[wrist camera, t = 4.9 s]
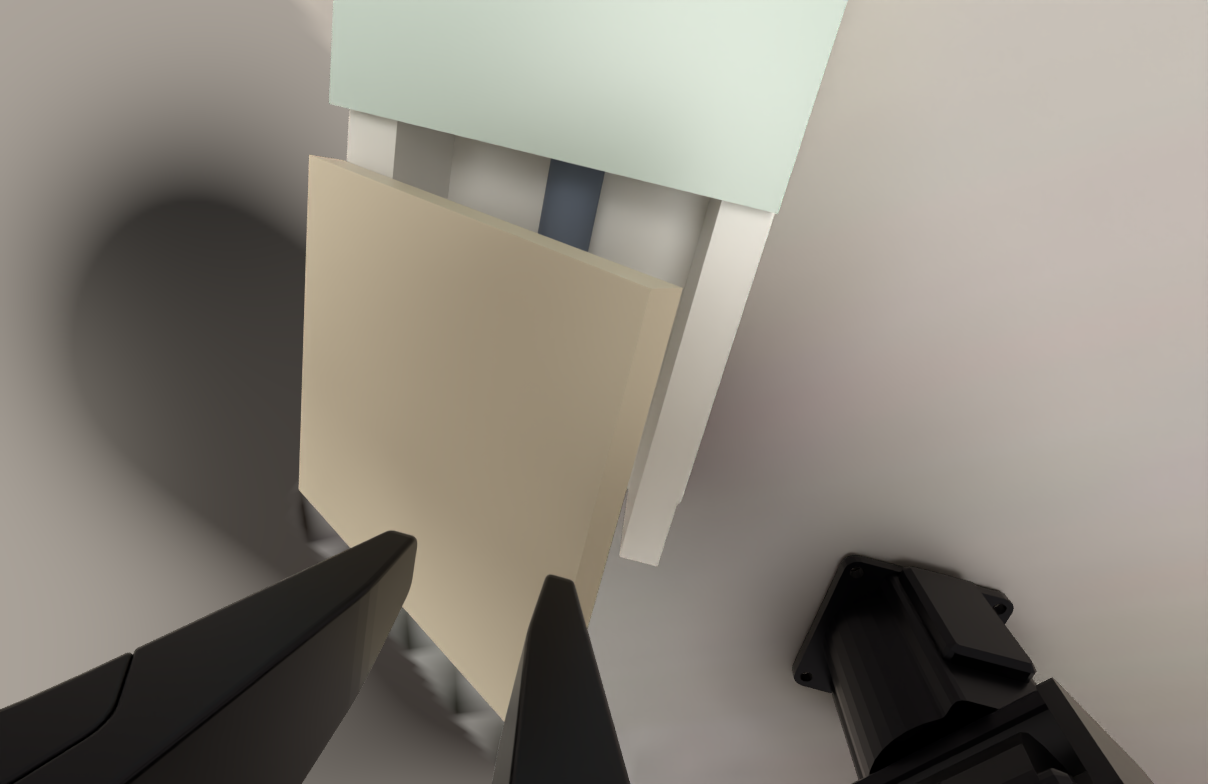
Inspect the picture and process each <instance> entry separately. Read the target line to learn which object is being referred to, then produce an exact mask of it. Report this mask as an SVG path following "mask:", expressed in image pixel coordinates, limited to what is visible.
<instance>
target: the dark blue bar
mask: <svg viewBox="0 0 1208 784" xmlns="http://www.w3.org/2000/svg"><path fill="white" fill-rule="evenodd" d="M604 174H605V171H601V170H597V169H593V168H589V167H585V166H580V165H576V164H572V163H568V162H564V161H560V160H556V159H552V158H551V161H550V167H549V172H548V178H547V183H546V189H545V195H544V200H543V206H542V212H541V217H540V223H539V228H538V234H541V235H543V236H546V237H549V238H551V239H554V240H557V241H559V242H562V243H565V244H567V245H570V246H573V247H575V248H578V249H581V250H583V251H586V252H588V249H589V245H590V240H591V235H592V231H593V226H594V221H595V217H596V212H597V207H598V202H599V198H600V193H601V188H602V184H603V179H604Z"/></svg>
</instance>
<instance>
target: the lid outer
mask: <svg viewBox="0 0 1208 784" xmlns="http://www.w3.org/2000/svg"><path fill="white" fill-rule="evenodd" d="M847 1H848V0H333V19H332V43H331V66H330V91H329V104H332V105H336V106H340V107H344V108H348V109H352V110H356V111H360V112H364V113H368V114H372V115H377V116H381V117H385V118H389V119H393V120H397V121H401V122H405V123H409V124H413V125H417V126H421V127H425V128H430V129H434V130H438V131H442V132H446V133H450V134H454V135H458V136H462V137H466V138H470V139H474V140H478V141H483V142H487V143H491V144H495V145H499V146H503V147H507V148H511V149H515V150H519V151H523V152H527V153H532V154H536V155H540V156H544V157H548V158H552V159H556V160H560V161H564V162H568V163H572V164H576V165H580V166H585V167H589V168H593V169H597V170H601V171H605V172H609V173H613V174H617V175H621V176H625V177H629V178H633V179H638V180H642V181H646V182H650V183H654V184H658V185H662V186H666V187H670V188H674V189H678V190H682V191H686V192H691V193H695V194H699V195H703V196H707V197H711V198H715V199H719V200H723V201H727V202H731V203H735V204H740V205H744V206H748V207H752V208H756V209H760V210H764V211H768V212H772V213H776V214H778V212H779V209H780V206H781V203H782V200H783V197H784V194H785V191H786V188H787V185H788V182H789V179H790V175H791V172H792V169H793V166H794V163H795V160H796V157H797V154H798V151H799V148H800V145H801V142H802V139H803V136H804V133H805V130H806V126H807V123H808V120H809V117H810V114H811V111H812V108H813V105H814V102H815V99H816V96H817V93H818V90H819V87H820V84H821V81H822V78H823V74H824V71H825V68H826V65H827V62H828V59H829V56H830V53H831V50H832V47H833V44H834V41H835V38H836V35H837V32H838V29H839V26H840V22H841V19H842V16H843V13H844V10H845V7H846V4H847Z"/></svg>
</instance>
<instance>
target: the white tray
mask: <svg viewBox="0 0 1208 784" xmlns="http://www.w3.org/2000/svg"><path fill="white" fill-rule="evenodd" d="M550 161H551V158H548V157H544V156H540V155H536V154H532V153H527V152H523V151H519V150H515V149H511V148H507V147H503V146H499V145H495V144H491V143H487V142H483V141H478V140H474V139H470V138H466V137H462V136H458V135H454V134H450V133H446V132H442V131H438V130H434V129H430V128H425V127H421V126H417V125H413V124H409V123H405V122H401V121H397V120H393V119H389V118H385V117H381V116H377V115H372V114H368V113H364V112H360V111H356V110H352V109H349V126H348V144H347V162H349V163H352V164H355V165H357V166H360V167H363V168H365V169H368V170H371V171H373V172H376V173H379V174H381V175H384V176H387V177H389V178H392V179H395V180H397V181H400V182H403V183H405V184H408V185H411V186H413V187H416V188H419V189H421V190H424V191H426V192H429V193H432V194H434V195H437V196H440V197H442V198H445V199H448V200H450V201H453V202H456V203H458V204H461V205H464V206H466V207H469V208H472V209H474V210H477V211H480V212H482V213H485V214H488V215H490V216H493V217H496V218H498V219H501V220H504V221H506V222H509V223H512V224H514V225H517V226H520V227H522V228H525V229H528V230H530V231H533V232H535V233H538V228H539V223H540V217H541V212H542V206H543V200H544V195H545V189H546V183H547V178H548V172H549V167H550ZM774 215H775V213H772V212H768V211H764V210H760V209H756V208H752V207H748V206H744V205H740V204H735V203H731V202H727V201H723V200H719V199H715V198H711V197H707V196H703V195H699V194H695V193H691V192H686V191H682V190H678V189H674V188H670V187H666V186H662V185H658V184H654V183H650V182H646V181H642V180H638V179H633V178H629V177H625V176H621V175H617V174H613V173H609V172H605V174H604V179H603V184H602V188H601V193H600V198H599V202H598V207H597V212H596V217H595V221H594V226H593V231H592V235H591V240H590V245H589V249H588V252H589V253H591V254H594V255H597V256H599V257H602V258H605V259H607V260H610V261H613V262H615V263H618V264H621V265H623V266H626V267H629V268H631V269H634V270H636V271H639V272H642V273H644V274H647V275H650V276H652V277H655V278H658V279H660V280H663V281H666V282H668V283H671V284H674V285H676V286H679V287H682V288H683V290H682V293H681V297H680V300H679V304H678V308H677V311H676V315H675V318H674V322H673V325H672V329H671V333H670V336H669V340H668V343H667V347H666V350H665V354H664V358H663V361H662V365H661V368H660V372H659V375H658V379H657V383H656V386H655V390H654V393H653V397H652V400H651V404H650V407H649V411H648V415H647V418H646V422H645V425H644V429H643V432H642V436H641V440H640V443H639V447H638V450H637V454H636V457H635V461H634V465H633V468H632V472H631V475H630V479H629V482H628V486H627V490H628V495H627V502H626V509H625V517H624V524H623V531H622V538H621V546H620V553H619V557H622V558H626V559H630V560H634V561H638V562H641V563H645V564H649V565H653V566H658V563H659V560H660V557H661V553H662V550H663V547H664V544H665V541H666V538H667V535H668V532H669V529H670V526H671V522H672V519H673V516H674V513H675V510H676V507H677V504H678V503H681V501H682V498H683V495H684V492H685V489H686V486H687V483H688V480H689V477H690V473H691V470H692V467H693V464H694V461H695V458H696V455H697V452H698V449H699V446H700V443H701V440H702V437H703V433H704V430H705V427H706V424H707V421H708V418H709V415H710V412H711V409H712V406H713V403H714V400H715V397H716V393H717V390H718V387H719V384H720V381H721V378H722V375H723V372H724V369H725V366H726V363H727V360H728V357H729V353H730V350H731V347H732V344H733V341H734V338H735V335H736V332H737V329H738V326H739V323H740V320H741V316H742V313H743V310H744V307H745V304H746V301H747V298H748V295H749V292H750V289H751V286H752V283H753V280H754V276H755V273H756V270H757V267H758V264H759V261H760V258H761V255H762V252H763V249H764V246H765V243H766V240H767V236H768V233H769V230H770V227H771V224H772V221H773V218H774Z"/></svg>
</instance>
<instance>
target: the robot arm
mask: <svg viewBox="0 0 1208 784" xmlns="http://www.w3.org/2000/svg"><path fill="white" fill-rule="evenodd" d="M416 552H417V539H416V538H415V537H414V536H413V535H409V534H405V533H402V532H398V531H395V530H389V531H386V532H384V533H381V534H379V535H377V536H375V537H373V538H371V539H369V540H367V541H364V542H362V543H360V544H358V545H356V546H354V547H352V548H350V549H347V550H345V551H343V552H341V553H339V554H337V555H335V556H332V557H330V558H328V559H326V560H324V561H322V562H320V563H318V564H315V565H313V566H311V567H309V568H307V569H305V570H303V571H301V572H298V573H296V574H294V575H292V576H290V577H288V578H286V579H284V580H282V581H279V582H277V583H275V584H273V585H271V586H269V587H266V588H265V589H262V590H260V591H258V592H256V593H254V594H252V595H249V596H247V597H245V598H243V599H241V600H239V601H237V602H234V603H232V604H230V605H228V606H226V607H224V608H222V609H220V610H217V611H215V612H213V613H211V614H209V615H207V616H205V617H202V618H200V619H198V620H196V621H194V622H192V623H190V624H188V625H186V626H183V627H181V628H179V629H177V630H175V631H173V632H171V633H168V634H166V635H164V636H162V637H160V638H158V639H156V640H153V641H151V642H150V643H147V644H145V645H143V646H141V647H139V648H137V649H136V650H135V651H134V654H131V653H125V654H123V655H121V656H119V657H117V658H115V659H112V660H110V661H108V662H106V663H104V664H102V665H100V666H98V667H96V668H93V669H91V670H89V671H87V672H85V673H82V674H80V675H78V676H76V677H73V678H71V679H69V680H67V681H65V682H62V683H60V684H58V685H56V686H53V687H51V688H49V689H47V690H45V691H42V692H40V693H38V694H35V695H33V696H31V697H29V698H27V699H24V700H22V701H20V702H17V703H14V704H12V705H10V706H7V707H5V708H2V709H0V784H302V782H303V781H304V779H305V778H306V776H307V774H308V773H309V772H310V770H311V768H312V767H313V765H314V764H315V762H316V761H317V759H318V757H319V756H320V754H321V753H322V751H323V750H324V748H325V747H326V745H327V743H328V742H329V740H330V739H331V737H332V736H333V734H334V732H335V731H336V729H337V728H338V726H339V725H340V723H341V721H342V720H343V718H344V717H345V715H346V713H347V712H348V710H349V709H350V707H351V705H352V704H353V702H354V700H355V699H356V697H357V695H358V694H359V692H360V689H361V688H362V686H363V684H364V682H365V680H366V678H367V676H368V674H369V672H370V670H371V668H372V666H373V664H374V662H375V660H376V658H377V656H378V654H379V652H380V650H381V648H382V646H383V644H384V642H385V640H386V638H387V636H388V634H389V632H390V630H391V628H392V626H393V624H394V622H395V620H396V618H397V616H398V614H399V612H400V610H401V608H402V606H403V604H404V602H405V600H406V598H407V595H408V593H409V590H410V587H411V584H412V579H413V572H414V565H415V558H416ZM855 567H860V569H859V570H857V571H851V570H852V568H855ZM997 604H1000V605H998V606H997V607H994V606H995V605H997ZM1013 609H1014V608H1013V604H1012V603H1011V601H1010V600H1009V599H1008V598H1007V596H1006V595H1005V594H1003V593H1001V592H998V591H994V590H990V589H987V588H983V587H979V586H976V585H975V584H974V583H973V582H970V581H966V580H962V579H958V578H954V577H951V576H947V575H943V574H939V573H935V572H931V571H927V570H923V569H919V568H916V567H901V566H897V565H893V564H889V563H886V562H882V561H878V560H874V559H870V558H866V557H862V556H857V555H852V556H848V557H847V558H845V559H844V560H843V561H842V562H841V564H840V567H839V569H838V571H837V573H836V575H835V577H834V579H833V581H832V584H831V586H830V588H829V590H828V592H827V594H826V596H825V598H824V601H823V603H822V605H821V607H820V609H819V611H818V613H817V616H816V618H815V620H814V622H813V624H812V626H811V628H810V630H809V633H808V635H807V637H806V639H805V641H804V643H803V645H802V647H801V650H800V652H799V654H798V656H797V658H796V660H795V662H794V664H793V667H792V672H793V676H794V679H795V681H796V682H797V683H798V684H800V685H802V686H806V687H810V688H814V689H817V690H821V691H825V692H829V693H832V695H833V699H834V702H835V705H836V708H837V712H838V715H839V718H840V721H841V725H842V728H843V731H844V734H845V738H846V741H847V744H848V747H849V750H850V754H851V757H852V760H853V763H854V767H855V770H856V773H857V776H858V781H856V782H854V783H852V784H1154V783H1153V782H1152V781H1151V780H1150V778H1149V777H1148V776H1147V775H1146V774H1145V772H1144V771H1143V770H1142V769H1141V768H1140V767H1139V766H1138V765H1137V764H1136V762H1135V761H1134V760H1133V759H1132V758H1131V757H1130V756H1129V755H1128V754H1127V753H1126V752H1125V751H1124V750H1123V749H1122V748H1121V747H1120V746H1119V745H1118V744H1117V743H1116V742H1115V741H1114V740H1113V739H1112V738H1111V737H1110V736H1109V735H1108V734H1107V733H1106V732H1105V731H1104V730H1103V729H1102V728H1101V727H1100V725H1099V724H1098V723H1097V722H1096V721H1095V720H1094V719H1093V718H1092V717H1091V716H1090V715H1089V714H1088V713H1087V712H1086V711H1085V710H1084V709H1083V708H1082V707H1081V706H1080V705H1079V704H1078V703H1077V702H1076V701H1075V700H1074V699H1073V698H1072V697H1071V696H1070V695H1069V694H1068V693H1067V692H1066V691H1065V690H1064V688H1063V687H1062V686H1061V685H1060V684H1059V683H1058V682H1057V681H1056V680H1055V679H1054V678H1053V677H1052V678H1050V679H1048V680H1046V681H1044V682H1042V683H1040V684H1038V685H1036V683H1035V682H1034V680H1033V679H1032V677H1033V676H1034V674H1035V673H1036V669H1035V667H1034V665H1033V663H1032V661H1031V660H1030V658H1029V657H1028V656H1027V654H1026V653H1025V652H1024V650H1023V649H1022V648H1021V646H1020V645H1019V643H1018V642H1017V641H1016V639H1015V638H1014V637H1013V635H1012V634H1011V633H1010V631H1009V630H1008V629H1007V627H1006V626H1005V623H1006V622H1007V620H1008V619H1009V617H1010V615H1011V614H1012V612H1013ZM804 672H809V673H806V674H802V673H804ZM492 784H630V781H629V778H628V774H627V770H626V767H625V763H624V760H623V756H622V752H621V749H620V745H619V742H618V738H617V734H616V731H615V727H614V724H613V720H612V716H611V713H610V709H609V706H608V702H607V698H606V695H605V691H604V688H603V684H602V680H601V677H600V673H599V670H598V666H597V662H596V659H595V655H594V652H593V648H592V644H591V641H590V637H589V634H588V630H587V626H586V623H585V619H584V616H583V612H582V608H581V605H580V601H579V598H578V594H577V590H576V587H575V584H574V582H573V581H572V580H570V579H567V578H563V577H560V576H556V575H552V574H549V575H547V576H546V577H545V580H544V582H543V585H542V588H541V591H540V594H539V597H538V600H537V603H536V606H535V609H534V612H533V615H532V617H531V620H530V623H529V627H528V630H527V634H526V638H525V642H524V646H523V650H522V654H521V658H520V662H519V666H518V670H517V674H516V678H515V682H514V686H513V690H512V694H511V698H510V702H509V705H508V709H507V713H506V717H505V721H504V725H503V729H502V733H501V738H500V743H499V748H498V753H497V758H496V764H495V770H494V775H493V781H492Z"/></svg>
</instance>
